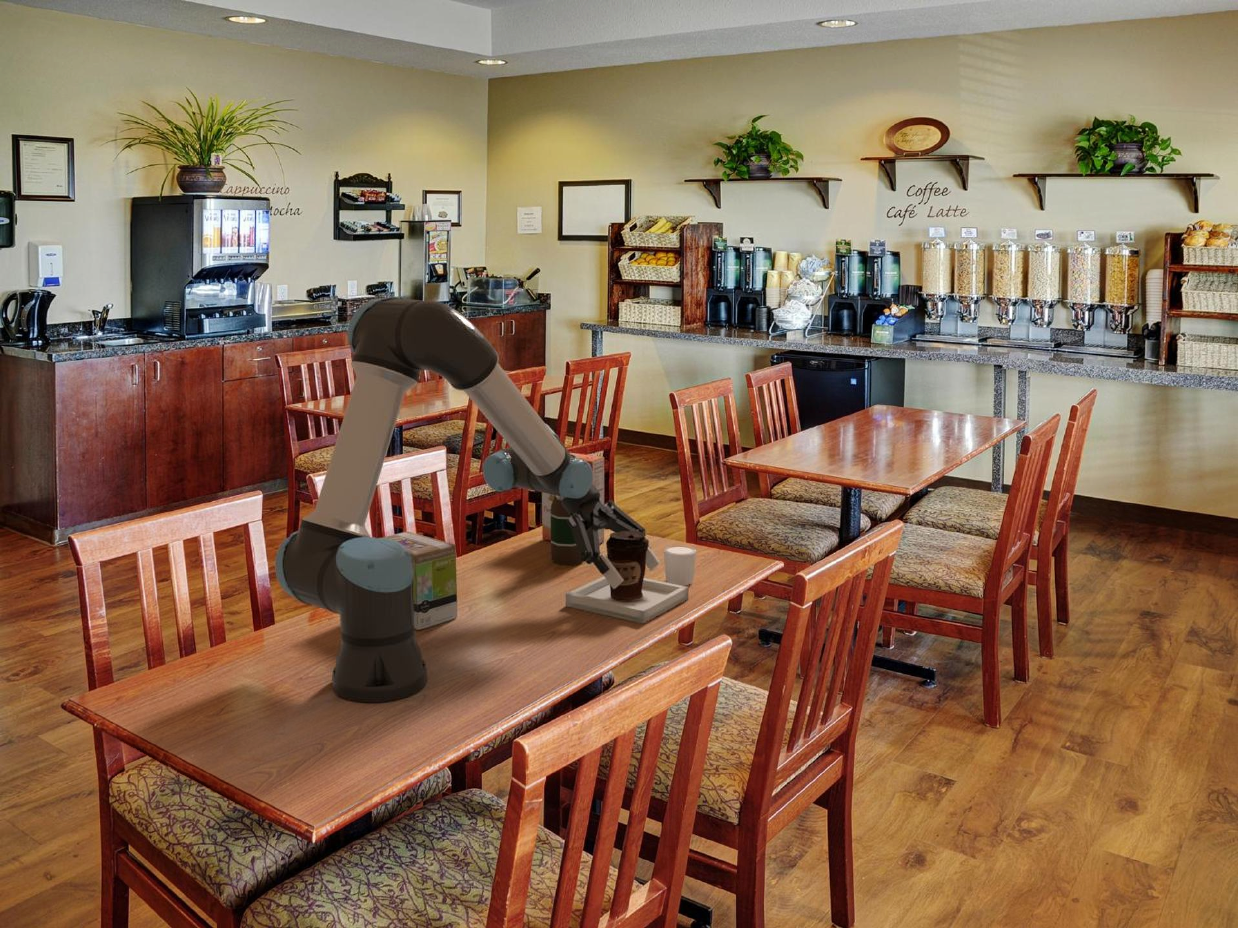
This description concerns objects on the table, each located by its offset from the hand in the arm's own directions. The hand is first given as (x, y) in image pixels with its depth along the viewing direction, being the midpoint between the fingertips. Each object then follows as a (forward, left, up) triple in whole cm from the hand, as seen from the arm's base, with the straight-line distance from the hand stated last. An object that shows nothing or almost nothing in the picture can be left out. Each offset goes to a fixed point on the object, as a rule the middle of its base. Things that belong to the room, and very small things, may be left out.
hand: (637, 575), depth 220 cm
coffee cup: (0, +2, -5) cm, 6 cm away
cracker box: (+29, +36, -6) cm, 47 cm away
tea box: (-29, +32, -6) cm, 44 cm away
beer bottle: (+16, +28, -6) cm, 33 cm away
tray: (0, +2, -6) cm, 6 cm away
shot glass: (+17, 0, -6) cm, 18 cm away
